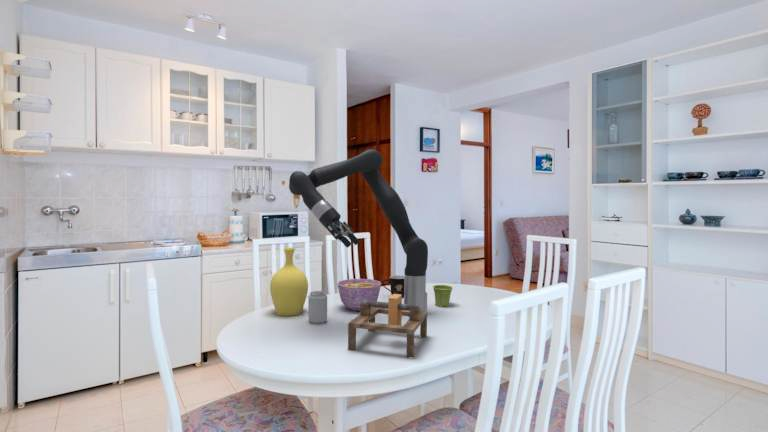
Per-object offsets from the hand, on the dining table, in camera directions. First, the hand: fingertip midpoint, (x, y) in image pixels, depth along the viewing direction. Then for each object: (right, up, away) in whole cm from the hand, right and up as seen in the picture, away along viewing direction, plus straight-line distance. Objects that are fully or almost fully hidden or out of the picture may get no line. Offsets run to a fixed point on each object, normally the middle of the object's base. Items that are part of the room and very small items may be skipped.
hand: (353, 244), depth 159 cm
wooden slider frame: (+13, -33, -11) cm, 38 cm away
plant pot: (+39, -31, +39) cm, 64 cm away
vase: (-30, -31, +24) cm, 49 cm away
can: (-15, -32, +12) cm, 38 cm away
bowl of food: (0, -31, +32) cm, 45 cm away
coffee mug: (+17, -30, +56) cm, 65 cm away
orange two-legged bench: (+15, -28, -12) cm, 34 cm away
